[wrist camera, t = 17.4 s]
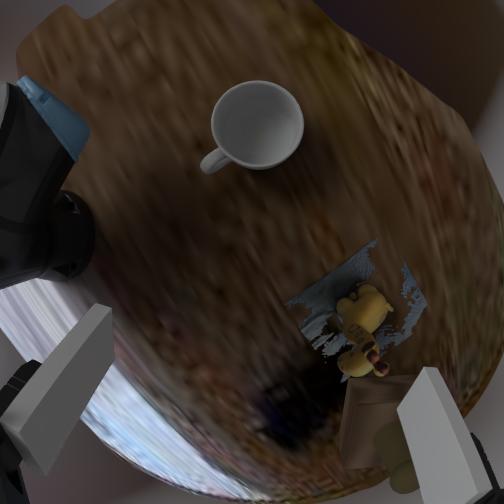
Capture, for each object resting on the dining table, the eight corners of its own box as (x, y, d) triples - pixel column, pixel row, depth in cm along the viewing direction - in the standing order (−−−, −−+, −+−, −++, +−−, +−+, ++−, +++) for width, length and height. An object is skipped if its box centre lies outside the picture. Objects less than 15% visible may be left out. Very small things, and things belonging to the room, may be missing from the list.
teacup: (276, 89, 42) (275, 66, 34) (314, 153, 42) (321, 140, 34) (190, 135, 43) (172, 120, 35) (225, 200, 44) (213, 197, 36)
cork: (365, 437, 38) (381, 489, 27) (399, 413, 37) (425, 462, 27) (384, 456, 39) (401, 505, 28) (416, 434, 38) (441, 480, 27)
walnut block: (337, 439, 47) (343, 469, 39) (348, 378, 46) (358, 405, 38) (405, 433, 46) (419, 460, 38) (422, 373, 45) (441, 396, 37)
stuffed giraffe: (282, 304, 45) (290, 352, 30) (383, 230, 43) (438, 242, 28) (339, 380, 47) (364, 444, 31) (430, 314, 45) (485, 353, 29)
